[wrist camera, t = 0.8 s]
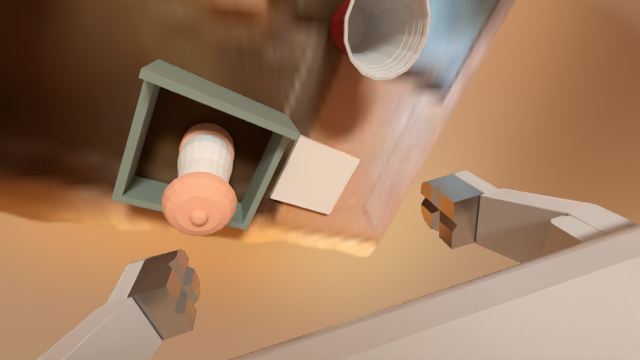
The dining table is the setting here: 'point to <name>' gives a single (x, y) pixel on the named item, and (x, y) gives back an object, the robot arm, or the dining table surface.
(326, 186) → the ceramic tile
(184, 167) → the pepper shaker
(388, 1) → the plastic cup
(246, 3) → the dining table surface
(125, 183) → the grey open box
